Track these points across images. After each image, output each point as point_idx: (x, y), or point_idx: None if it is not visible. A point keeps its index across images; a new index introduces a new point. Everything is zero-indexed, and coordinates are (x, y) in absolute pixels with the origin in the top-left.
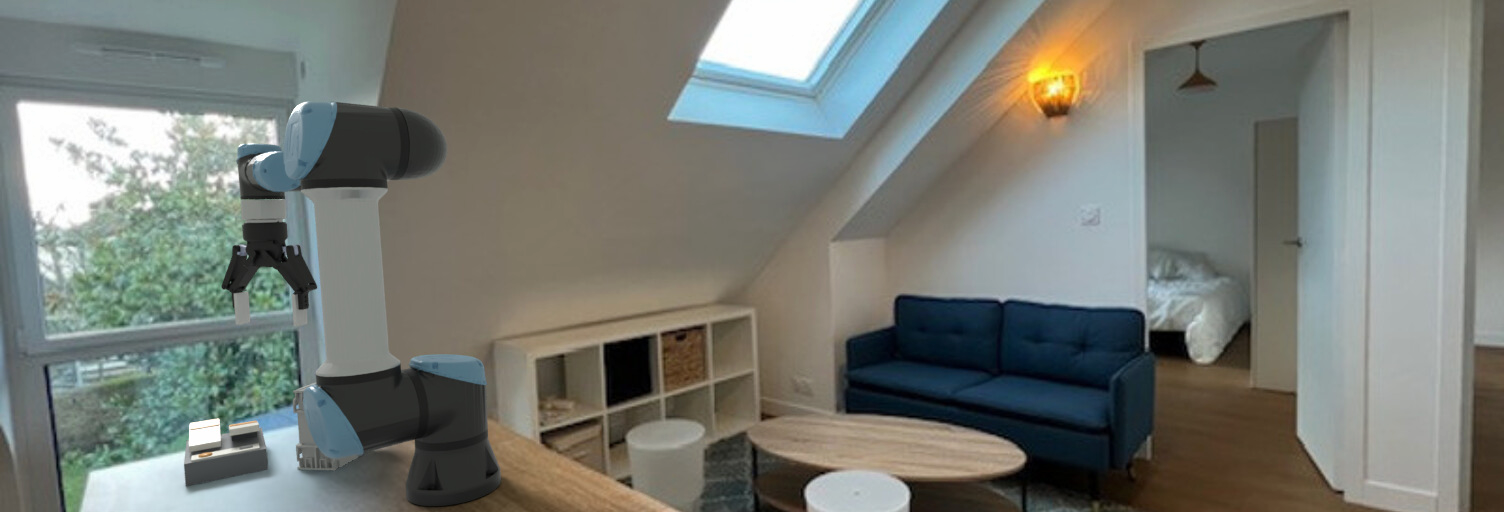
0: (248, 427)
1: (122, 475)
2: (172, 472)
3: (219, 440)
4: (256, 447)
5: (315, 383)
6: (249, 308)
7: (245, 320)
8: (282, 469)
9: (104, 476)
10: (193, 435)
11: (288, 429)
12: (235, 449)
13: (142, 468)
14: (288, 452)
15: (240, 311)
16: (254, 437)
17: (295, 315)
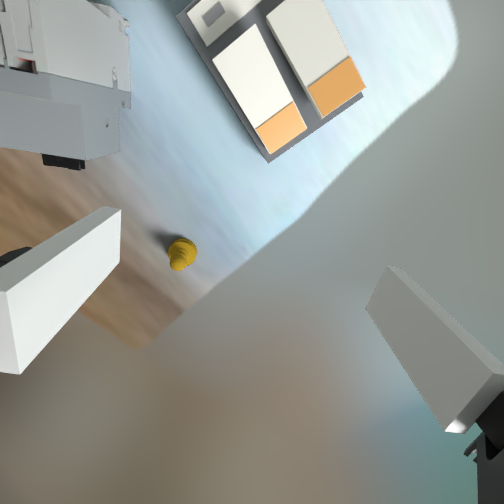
0: (227, 47)
1: (421, 29)
2: (344, 34)
3: (268, 15)
4: (193, 14)
5: (36, 50)
6: (392, 349)
7: (379, 298)
8: (157, 26)
9: (449, 27)
10: (329, 32)
11: (272, 237)
12: (229, 4)
13: (405, 65)
14: (204, 123)
15: (411, 307)
16: None
17: (79, 223)
